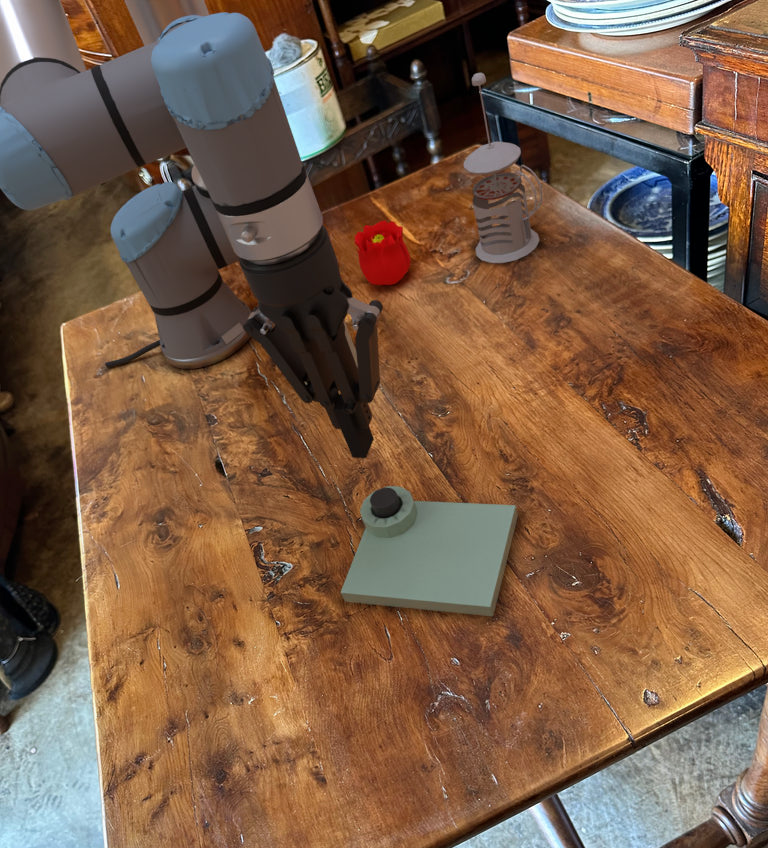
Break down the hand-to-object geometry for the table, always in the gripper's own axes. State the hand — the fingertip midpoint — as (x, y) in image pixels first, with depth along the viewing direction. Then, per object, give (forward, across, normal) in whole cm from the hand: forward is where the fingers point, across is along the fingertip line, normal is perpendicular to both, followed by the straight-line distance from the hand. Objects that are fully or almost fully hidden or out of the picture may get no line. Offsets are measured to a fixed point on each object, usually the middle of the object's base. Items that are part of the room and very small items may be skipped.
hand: (363, 448), depth 80 cm
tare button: (+9, 0, 0) cm, 9 cm away
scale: (+12, +6, -4) cm, 14 cm away
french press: (+13, +3, +56) cm, 57 cm away
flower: (+13, -15, +49) cm, 53 cm away
